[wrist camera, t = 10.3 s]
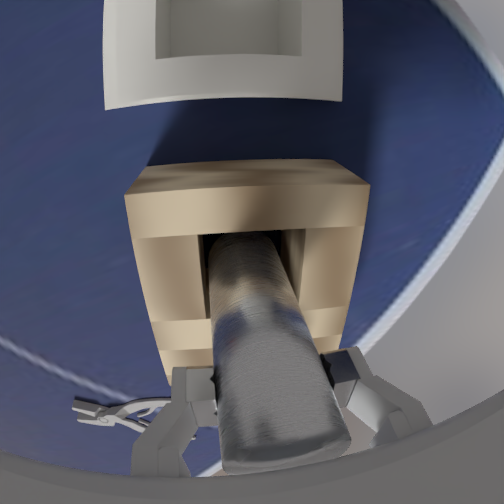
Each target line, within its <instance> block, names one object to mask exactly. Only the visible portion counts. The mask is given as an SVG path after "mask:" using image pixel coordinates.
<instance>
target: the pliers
mask: <svg viewBox="0 0 504 504" xmlns="http://www.w3.org/2000/svg"><path fill="white" fill-rule="evenodd" d="M166 403H171V398H151V399H141V400H135V401H131V402H128V403H126V404H124V405H121V406H117V407H111V408H108V407H104V406H101V405H97V404H92V403H87V402H83V401H78V400H74V402H73V406H72V410H75V411H78V412H79V413H78V417H77V420H78V421H79V422H82V423H88V424H95V425H101V426H114V424H115V422H117V423H121V424H123V425H126V426H128V427H130V428H132V429H134V430H136V431H139V432H142V433H143V432H144V430H145V429H146V428H147V427H146V426H144V425H141V424H139V423H137V422H135V421H133V420H130V419H126V418H125V417H126V416H128V415H129V414H130V413H133V412H136V411H138V410H141V409H144V408H150V409H148V410H147V411H145V412H142V413H138V414H137V416H138V417H141V416H145V415H148V414H150V413H151V412H153V410H154V409H155V408H157V407H162V406H165V404H166ZM139 422H140V423H143V424H145V425H147V426H148V425H149V424H150V423H149V422H147V421H144V420H142V419H139ZM191 440H195V436H193V437H192V439H191Z"/></svg>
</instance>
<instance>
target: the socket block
mask: <svg viewBox="0 0 504 504" xmlns="http://www.w3.org/2000/svg"><path fill="white" fill-rule="evenodd" d="M369 191H370V184H368V183H367V182H365V181H364V180H362V179H361V178H360V177H358V176H357V175H355V174H354V173H352V172H351V171H349V170H348V169H346V168H345V167H343V166H342V165H340V164H338V163H337V162H335V161H334V160H326V159H260V160H230V161H210V162H194V163H180V164H168V165H157V166H147V167H145V169H144V170H143V171H142V172H141V174H140V175H139V176H138V178H137V179H136V180H135V181H134V183H133V184H132V185H131V187H130V188H129V189H128V191H127V192H126V193H125V195H124V196H125V203H126V209H127V215H128V221H129V227H130V232H131V238H132V243H133V248H134V253H135V258H136V263H137V267H138V272H139V276H140V281H141V285H142V289H143V294H144V298H145V302H146V306H147V310H148V314H149V317H150V321H151V325H152V329H153V332H154V336H155V339H156V343H157V346H158V350H159V353H160V357H161V360H162V363H163V366H164V370H165V373H166V376H167V379H168V382H169V385H171V382H172V369H173V367H184V366H212V365H213V350H212V334H211V315H210V294H209V269H208V268H206V266H205V255H204V243H203V234H213V233H229V232H247V231H265V230H281V249H280V260H281V263H282V265H283V267H284V270H285V272H286V275H287V277H288V279H289V282H290V284H291V287H292V289H293V292H294V294H295V296H296V299H297V301H298V304H299V306H300V309H301V311H302V314H303V316H304V319H305V321H306V324H307V326H308V329H309V331H310V334H311V336H312V339H313V341H314V344H315V346H316V349H317V351H318V354H319V355H320V353H321V352H327V351H333V350H338V347H339V344H340V340H341V336H342V332H343V328H344V324H345V320H346V315H347V311H348V307H349V303H350V298H351V294H352V289H353V284H354V279H355V275H356V270H357V265H358V259H359V254H360V249H361V243H362V237H363V231H364V225H365V219H366V213H367V206H368V199H369Z"/></svg>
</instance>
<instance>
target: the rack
mask: <svg viewBox="0 0 504 504" xmlns="http://www.w3.org/2000/svg"><path fill="white" fill-rule="evenodd" d="M103 77H104V98H105V110H109V109H115V108H121V107H128V106H135V105H142V104H150V103H159V102H169V101H179V100H192V99H208V98H235V97H275V98H302V99H318V100H331V101H342V84H343V3H342V0H104V16H103Z"/></svg>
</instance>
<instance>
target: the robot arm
mask: <svg viewBox="0 0 504 504" xmlns="http://www.w3.org/2000/svg"><path fill="white" fill-rule="evenodd" d="M319 356H320V359H321V361H322V364H323V366H324V369H325V371H326V374H327V376H328V379H329V382H330V384H331V387H332V389H333V392H334V395H335V397H336V400H337V402H338V405H339V408H342V407H346V406H347V408H348V409H349V410H350V411H351V412H352V413H354V414H355V415H356V416H357V417H358V418H360V419H361V420H362V421H363V422H364V423H366V424H367V425H368V426H369V427H370V428H372V429H373V430H374V431H375V432H377V433H376V435H375V436H374V438H373V439H372V441H371V442H370V444H369V446H370V448H371V449H367V450H364V451H361V452H357V453H354V454H350V455H346V456H342V457H338V458H334V459H330V460H326V461H322V462H317V463H313V464H308V465H303V466H297V467H292V468H286V469H280V470H273V471H266V472H259V473H250V474H240V475H229V476H214V477H191V476H190V471H189V470H188V468H187V466H186V464H185V462H184V460H183V458H182V456H181V455H182V454H183V452H184V450H185V449H186V447H187V446H188V444H189V442H190V441H191V439H192V437H193V436H194V434H195V432H196V431H197V429H198V427H204V426H216V425H218V417H217V400H216V390H215V375H214V366H213V365H212V366H184V367H173V369H172V382H171V403H166V404H165V406H164V407H163V408H162V409H161V411H160V412H159V413H158V414H157V416H156V417H155V418H154V419H153V421H152V422H151V423H150V424H149V425H148V427H147V428H146V429H145V430H144V432H143V433H142V434H141V435H140V436H139V438H138V439H137V440H136V441H135V443H134V444H133V447H132V460H131V475H118V474H109V473H101V472H93V471H87V470H80V469H75V468H69V467H64V466H59V465H54V464H50V463H45V462H41V461H37V460H33V459H29V458H25V457H22V456H18V455H15V454H12V453H9V452H5V451H2V450H0V504H504V390H502V391H500V392H499V393H497V394H495V395H494V396H492V397H490V398H488V399H486V400H485V401H483V402H481V403H479V404H477V405H475V406H473V407H471V408H469V409H468V410H465V411H463V412H462V413H459V414H457V415H455V416H453V417H451V418H449V419H447V420H445V421H443V422H440V423H438V424H436V425H433V424H432V422H431V420H430V418H429V416H428V415H427V413H426V411H425V409H424V408H423V405H422V404H421V402H420V401H418V400H416V399H415V398H413V397H411V396H410V395H408V394H407V393H405V392H403V391H401V390H400V389H398V388H397V387H395V386H393V385H392V384H390V383H388V382H387V381H385V380H383V379H382V378H380V377H379V376H377V375H376V376H373V374H372V372H371V370H370V368H369V366H368V364H367V363H366V361H365V359H364V357H363V355H362V353H361V351H360V349H359V348H358V347H357V346H355V347H350V348H345V349H344V348H343V349H338V350H333V351H327V352H321V353H320V355H319Z"/></svg>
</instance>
